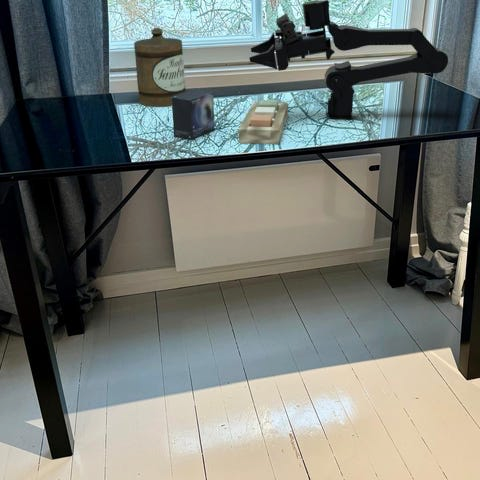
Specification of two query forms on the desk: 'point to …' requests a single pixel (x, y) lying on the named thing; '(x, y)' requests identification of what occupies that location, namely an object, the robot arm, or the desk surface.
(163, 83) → the wooden container
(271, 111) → the key ivory
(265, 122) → the key terracotta
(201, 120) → the small box
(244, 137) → the keypad housing
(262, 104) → the key sage
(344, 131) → the desk surface
